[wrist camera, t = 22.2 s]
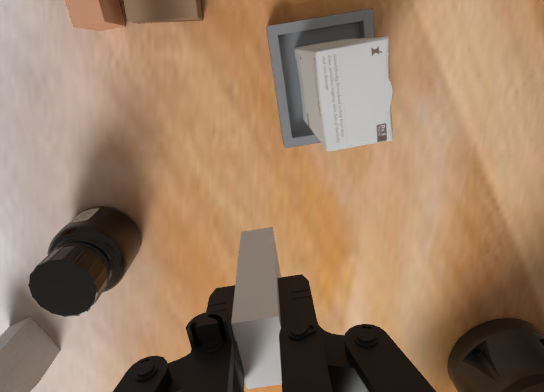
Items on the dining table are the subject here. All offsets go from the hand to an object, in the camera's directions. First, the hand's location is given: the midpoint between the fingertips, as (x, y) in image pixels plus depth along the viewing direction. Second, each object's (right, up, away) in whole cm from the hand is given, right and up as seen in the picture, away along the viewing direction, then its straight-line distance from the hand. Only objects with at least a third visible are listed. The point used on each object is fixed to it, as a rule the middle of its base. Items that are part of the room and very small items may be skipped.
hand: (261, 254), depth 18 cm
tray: (+6, +16, +26) cm, 31 cm away
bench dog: (-17, +24, +22) cm, 37 cm away
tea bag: (-34, -18, +37) cm, 53 cm away
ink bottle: (-21, -2, +32) cm, 38 cm away
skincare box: (+6, +16, +25) cm, 31 cm away
